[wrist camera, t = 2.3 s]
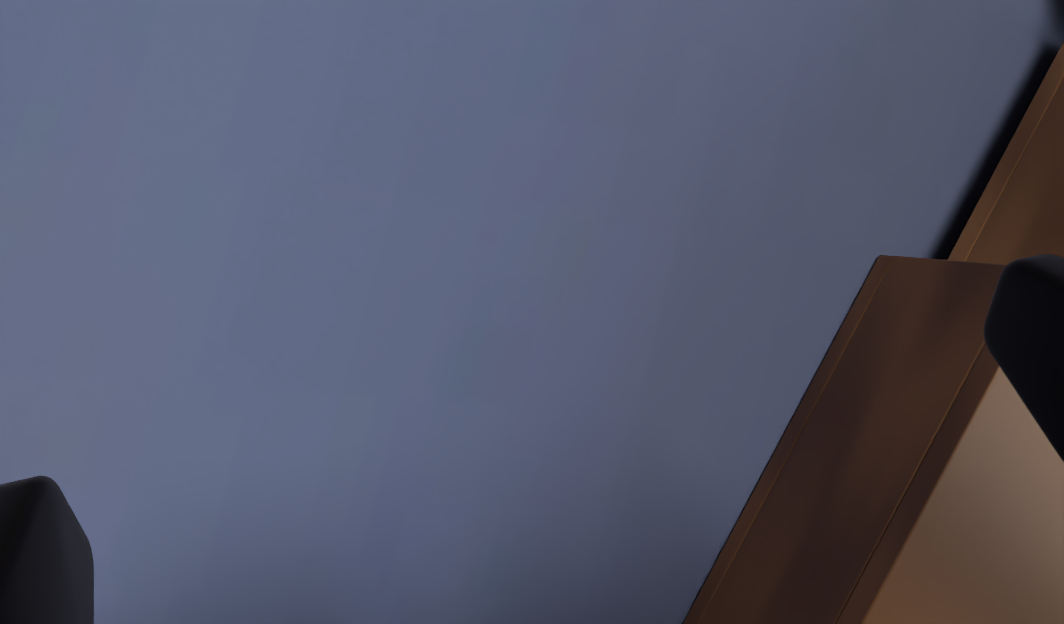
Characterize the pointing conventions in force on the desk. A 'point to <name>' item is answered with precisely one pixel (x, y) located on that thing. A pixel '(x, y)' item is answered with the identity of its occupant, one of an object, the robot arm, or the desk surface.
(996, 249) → the drawer
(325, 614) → the desk surface
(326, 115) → the desk surface
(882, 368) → the cabinet
